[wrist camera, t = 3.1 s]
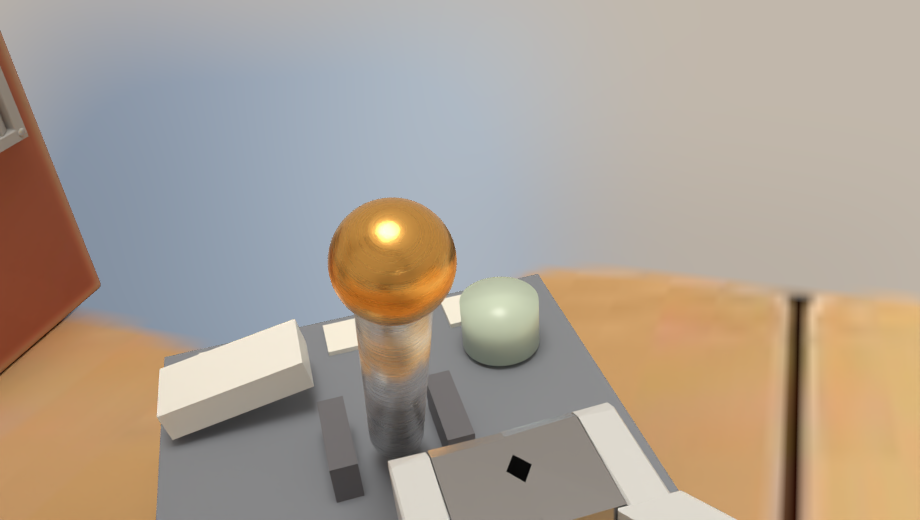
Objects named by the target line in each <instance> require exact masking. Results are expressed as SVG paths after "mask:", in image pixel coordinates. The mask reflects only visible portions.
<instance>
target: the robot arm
mask: <svg viewBox="0 0 920 520" xmlns="http://www.w3.org/2000/svg"><path fill="white" fill-rule="evenodd" d="M388 469H389V474H390V479H391V484H392V489H393V495H394V500H395V505H396V510H397V515H398V520H737V519H735V518H733V517H731V516H729V515H727V514H725V513H723V512H721V511H720V510H718V509H716V508H714V507H712V506H710V505H708V504H706V503H704V502H702V501H700V500H699V499H697V498H695V497H693V496H691V495H689V494H687V493H685V492H683V491H681V490H680V491H676V492H673V493H670V492H669V491H668V489H667V488H666V486H665V484H664V483H663V481H662V480H661V478H660V477H659V475H658V474H657V472H656V471H655V469H654V468H653V466H652V464H651V463H650V461H649V460H648V458H647V457H646V455H645V454H644V452H643V451H642V449H641V448H640V446H639V444H638V443H637V441H636V440H635V438H634V437H633V435H632V434H631V432H630V431H629V429H628V428H627V426H626V424H625V423H624V421H623V420H622V418H621V417H620V415H619V414H618V412H617V411H616V409H615V408H614V406H612V405H611V404H609V403H608V402H607V403H603V404H600V405H596V406H592V407H589V408H585V409H581V410H578V411H574V412H572V413H571V414H570V413H566V414H563V415H559V416H555V417H552V418H548V419H545V420H541V421H538V422H534V423H531V424H527V425H523V426H520V427H516V428H513V429H509V430H506V431H502V432H499V433H498V434H494V435H490V436H486V437H482V438H477V439H473V440H469V441H465V442H461V443H457V444H453V445H449V446H444V447H440V448H436V449H432V450H428V451H427V453H426V452H423V453H419V454H414V455H410V456H406V457H402V458H398V459H394V460H390V461H388Z"/></svg>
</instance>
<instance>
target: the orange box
mask: <svg viewBox="0 0 920 520" xmlns="http://www.w3.org/2000/svg"><path fill="white" fill-rule="evenodd" d="M99 287H100V281H99V278H98V276H97V274H96V271H95V268H94V266H93V263H92V261H91V259H90V256H89V253H88V251H87V248H86V246H85V243H84V241H83V238H82V236H81V233H80V230H79V228H78V226H77V223H76V221H75V218H74V215H73V213H72V210H71V208H70V205H69V203H68V200H67V198H66V195H65V193H64V190H63V188H62V185H61V183H60V180H59V178H58V175H57V173H56V170H55V168H54V165H53V162H52V160H51V158H50V155H49V153H48V150H47V147H46V145H45V142H44V140H43V137H42V135H41V132H40V130H39V127H38V125H37V122H36V120H35V117H34V115H33V112H32V110H31V107H30V105H29V102H28V99H27V97H26V94H25V92H24V89H23V87H22V84H21V82H20V79H19V77H18V74H17V72H16V69H15V67H14V64H13V62H12V59H11V57H10V54H9V52H8V49H7V46H6V44H5V41H4V39H3V37H2V34H1V31H0V373H1V372H2V371H3V370H5V369H6V368H7V367H8V366H9V365H10V364H11V363H13V362H14V361H15V360H16V359H17V358H18V357H20V356H21V355H22V354H23V353H24V352H25V351H27V350H28V349H29V348H30V347H31V346H32V345H34V344H35V343H36V342H37V341H38V340H39V339H40V338H42V337H43V336H44V335H45V334H46V333H47V332H49V331H50V330H51V329H52V328H53V327H54V326H56V325H57V324H58V323H59V322H60V321H61V320H62V319H64V318H65V317H66V316H67V315H68V314H69V313H71V312H72V311H73V310H74V309H75V308H76V307H78V306H79V305H80V304H81V303H82V302H83V301H84V300H86V299H87V298H88V297H89V296H90V295H91V294H93V293H94V292H95V291H96V290H97V289H98V288H99Z"/></svg>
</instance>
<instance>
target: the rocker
mask: <svg viewBox="0 0 920 520" xmlns="http://www.w3.org/2000/svg"><path fill="white" fill-rule="evenodd" d="M311 387H314V383H313V377H312V372H311V367H310V361H309V356H308V350H307V345H306V341H305V339H304V337H303V335H302V333H301V331H300V329H299V327H298V325H297V322H296V320H295V319H293V320H290V321H287V322H285V323H282V324H280V325H277V326H274V327H271V328H269V329H266V330H263V331H260V332H258V333H255V334H253V335H250V336H247V337H244V338H242V339H239V340H236V341H234V342H231V343H228V344H226V345H223V346H220V347H217V348H215V349H212V350H209V351H207V352H204V353H201V354H199V355H196V356H193V357H191V358H188V359H185V360H183V361H180V362H177V363H174V364H172V365H169V366H166V367H164V368H161V369H160V373H159V390H158V406H157V418H158V420H159V421H160V423H161V424H162V425H163V427H164V428H165V430H166V431H167V433H168V434H169V436H170V437H171V439H172V440H174V439H177V438H180V437H182V436H185V435H187V434H190V433H193V432H195V431H198V430H201V429H203V428H206V427H208V426H211V425H214V424H216V423H219V422H222V421H224V420H227V419H229V418H232V417H235V416H237V415H240V414H243V413H245V412H248V411H251V410H253V409H256V408H258V407H261V406H264V405H266V404H269V403H272V402H274V401H277V400H279V399H282V398H285V397H287V396H290V395H293V394H295V393H298V392H300V391H303V390H306V389H308V388H311Z"/></svg>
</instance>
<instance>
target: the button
mask: <svg viewBox="0 0 920 520" xmlns="http://www.w3.org/2000/svg"><path fill="white" fill-rule="evenodd" d="M459 304H460V316H461V327H462V338H463V347H464V349H465V351H466V353H467V354H468V355H469V356H470V357H471V358H473V359H474V360H476V361H478V362H480V363H483V364H486V365H491V366H508V365H513V364H517V363H520V362H522V361H524V360H526V359H528V358H529V357H531V356H532V355H533V354H534V353H535V351H536V350H537V348H538V346H539V341H540V340H539V297H538V294H537V292H536V290H535V289H534V288H533V287H532V286H531V285H530V284H528V283H526V282H524V281H522V280H519V279H516V278H510V277H492V278H487V279H483V280H480V281H477V282H475V283H473V284H472V285H470V286H469V287H467V288H466V289H465V290H464V291H463V293H462V294H461V296H460V300H459Z"/></svg>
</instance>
